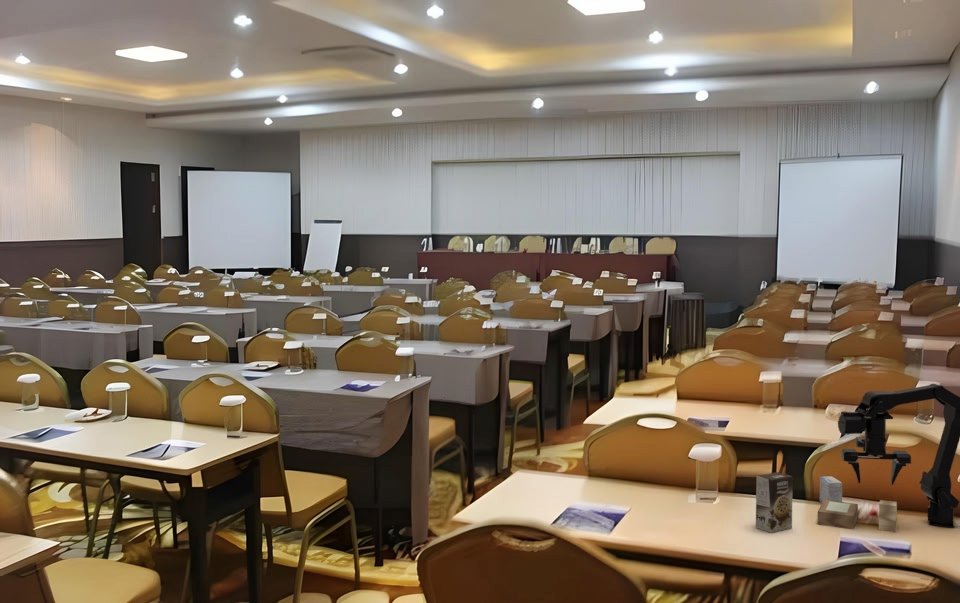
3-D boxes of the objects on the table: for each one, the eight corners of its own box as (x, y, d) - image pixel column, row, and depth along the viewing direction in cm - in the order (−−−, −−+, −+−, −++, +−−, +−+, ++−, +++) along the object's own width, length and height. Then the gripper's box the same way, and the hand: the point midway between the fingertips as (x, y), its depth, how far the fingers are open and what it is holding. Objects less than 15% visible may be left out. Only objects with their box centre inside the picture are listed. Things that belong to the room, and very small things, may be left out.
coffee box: (771, 533, 242) (771, 479, 242) (754, 527, 248) (755, 474, 247) (793, 528, 247) (793, 475, 246) (776, 522, 252) (776, 471, 252)
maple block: (896, 528, 246) (896, 502, 246) (895, 532, 242) (896, 505, 242) (879, 525, 248) (880, 499, 248) (878, 530, 245) (879, 503, 244)
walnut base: (857, 516, 258) (857, 503, 257) (853, 529, 246) (853, 515, 245) (823, 511, 263) (823, 498, 262) (817, 524, 251) (817, 510, 250)
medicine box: (842, 508, 266) (842, 482, 266) (828, 508, 266) (828, 482, 266) (832, 501, 274) (832, 476, 273) (819, 501, 274) (819, 476, 274)
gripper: (902, 428, 254) (902, 478, 255) (838, 427, 259) (838, 475, 260) (911, 436, 244) (911, 488, 244) (843, 434, 249) (844, 485, 249)
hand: (875, 483), depth 250 cm, fingers open, 9 cm apart
